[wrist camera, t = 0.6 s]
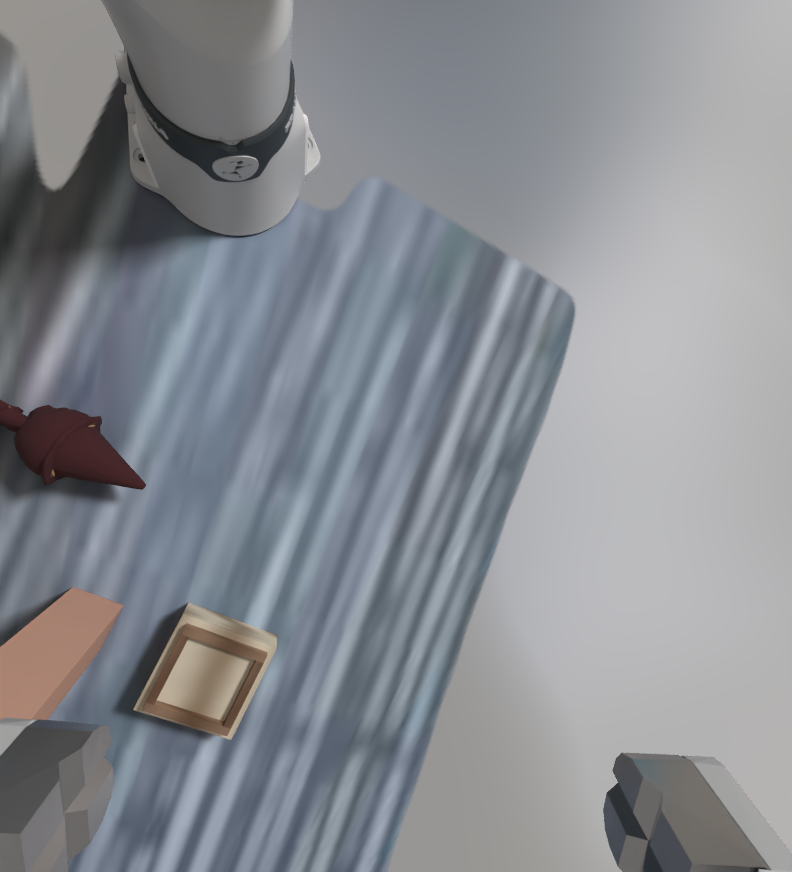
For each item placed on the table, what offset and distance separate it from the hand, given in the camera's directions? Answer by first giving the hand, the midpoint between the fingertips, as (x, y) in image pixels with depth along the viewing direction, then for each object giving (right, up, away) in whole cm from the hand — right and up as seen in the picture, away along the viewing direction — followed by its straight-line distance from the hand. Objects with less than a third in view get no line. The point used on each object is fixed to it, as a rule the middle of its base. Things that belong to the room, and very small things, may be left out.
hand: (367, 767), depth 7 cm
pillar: (-30, -13, +38) cm, 51 cm away
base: (-19, -19, +42) cm, 50 cm away
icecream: (-30, +4, +38) cm, 49 cm away
